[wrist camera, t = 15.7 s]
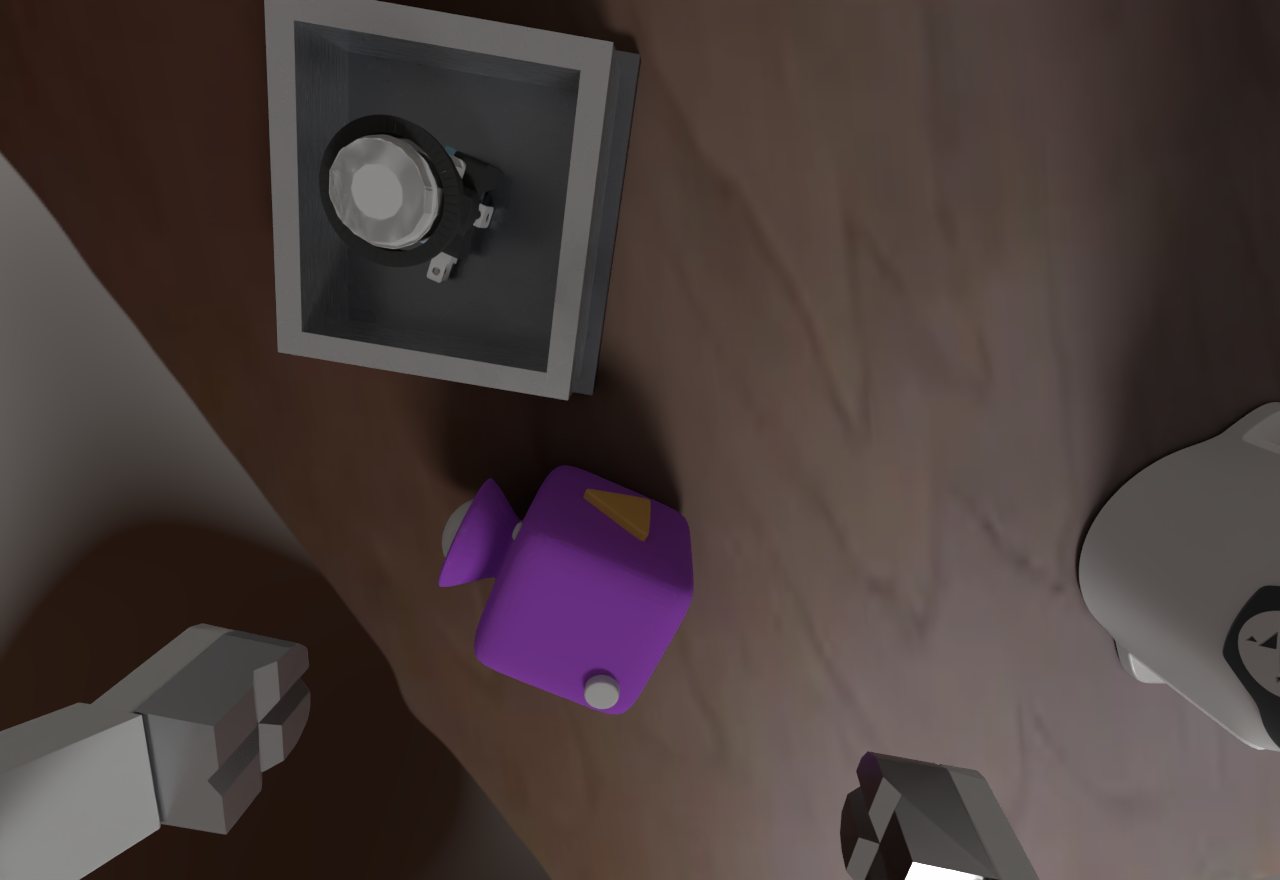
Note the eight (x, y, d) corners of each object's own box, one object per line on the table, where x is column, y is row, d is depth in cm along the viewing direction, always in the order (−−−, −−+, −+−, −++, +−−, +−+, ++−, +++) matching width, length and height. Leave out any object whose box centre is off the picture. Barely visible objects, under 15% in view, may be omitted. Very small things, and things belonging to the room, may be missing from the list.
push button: (488, 298, 33) (415, 324, 23) (395, 256, 32) (281, 266, 23) (530, 176, 30) (469, 149, 21) (431, 129, 30) (323, 81, 20)
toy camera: (481, 430, 36) (416, 499, 27) (700, 482, 37) (712, 568, 27) (458, 580, 40) (392, 688, 30) (658, 625, 40) (655, 746, 31)
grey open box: (641, 60, 29) (635, 22, 24) (594, 391, 35) (582, 418, 30) (318, 3, 29) (242, -47, 24) (322, 345, 35) (262, 365, 30)
